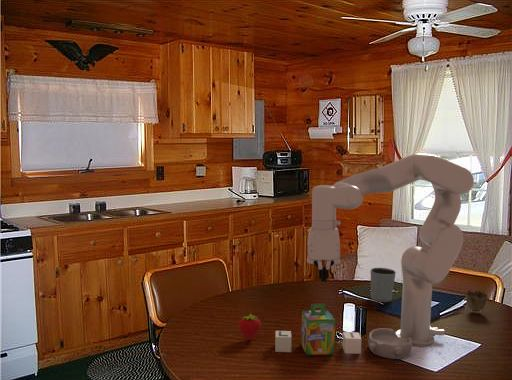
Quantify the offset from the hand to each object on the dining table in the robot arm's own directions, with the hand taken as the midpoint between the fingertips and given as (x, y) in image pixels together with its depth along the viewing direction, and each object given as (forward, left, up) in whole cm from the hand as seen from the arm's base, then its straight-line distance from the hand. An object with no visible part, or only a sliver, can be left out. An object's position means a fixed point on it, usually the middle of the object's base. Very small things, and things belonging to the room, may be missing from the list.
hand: (323, 280), depth 167 cm
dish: (-21, +2, -23) cm, 31 cm away
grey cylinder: (-30, -49, -22) cm, 62 cm away
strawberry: (+24, -4, -22) cm, 33 cm away
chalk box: (+2, +2, -22) cm, 23 cm away
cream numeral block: (-9, +2, -22) cm, 24 cm away
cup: (-63, -34, -22) cm, 75 cm away
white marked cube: (+13, +2, -22) cm, 26 cm away
